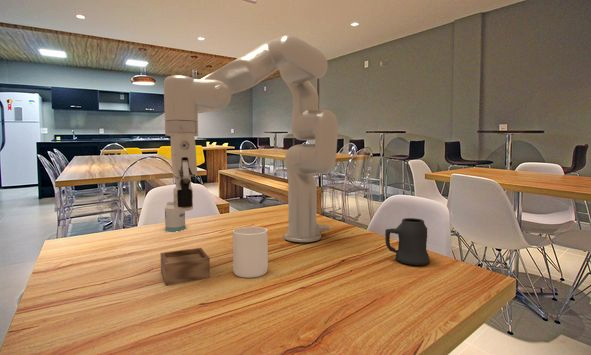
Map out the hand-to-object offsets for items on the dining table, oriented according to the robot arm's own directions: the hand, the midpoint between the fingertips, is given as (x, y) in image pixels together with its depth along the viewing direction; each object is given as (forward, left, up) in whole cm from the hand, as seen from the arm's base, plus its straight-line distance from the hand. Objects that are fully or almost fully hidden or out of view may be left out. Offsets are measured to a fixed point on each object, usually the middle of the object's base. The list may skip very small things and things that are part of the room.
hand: (183, 204), depth 81 cm
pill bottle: (0, 0, -2) cm, 2 cm away
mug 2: (-58, +14, -18) cm, 62 cm away
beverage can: (-2, -44, -18) cm, 48 cm away
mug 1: (-16, +4, -18) cm, 24 cm away
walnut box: (0, 0, -18) cm, 18 cm away
